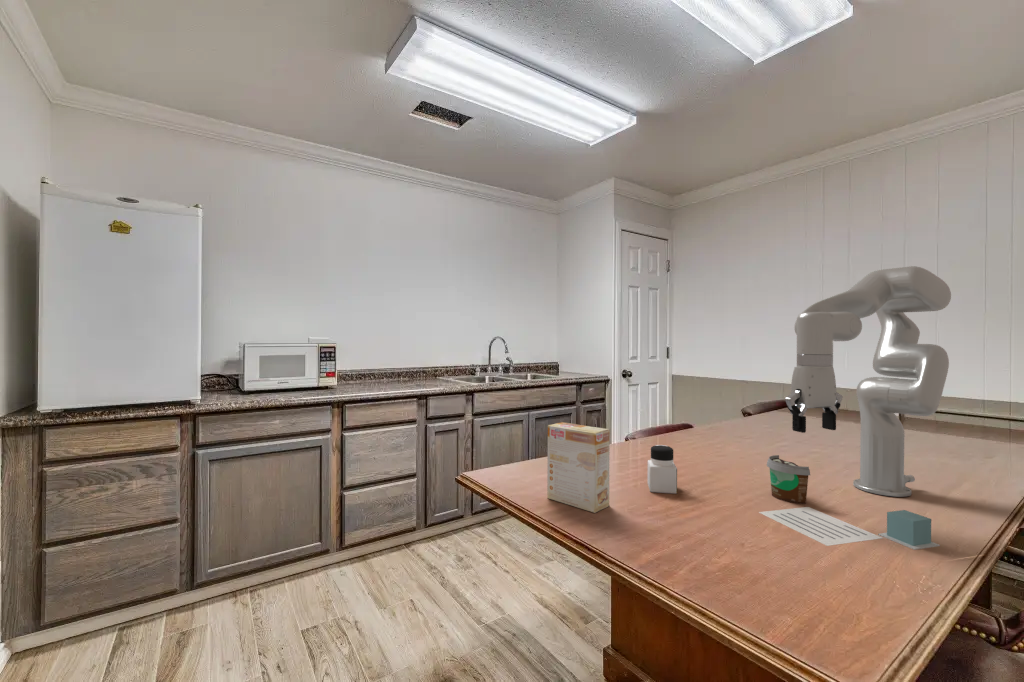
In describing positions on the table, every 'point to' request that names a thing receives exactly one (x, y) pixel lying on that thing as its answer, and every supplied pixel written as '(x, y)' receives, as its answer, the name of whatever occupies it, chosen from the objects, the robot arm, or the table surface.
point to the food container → (788, 480)
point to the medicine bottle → (662, 470)
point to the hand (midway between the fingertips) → (814, 430)
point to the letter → (820, 526)
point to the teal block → (909, 527)
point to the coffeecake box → (578, 466)
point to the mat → (909, 544)
